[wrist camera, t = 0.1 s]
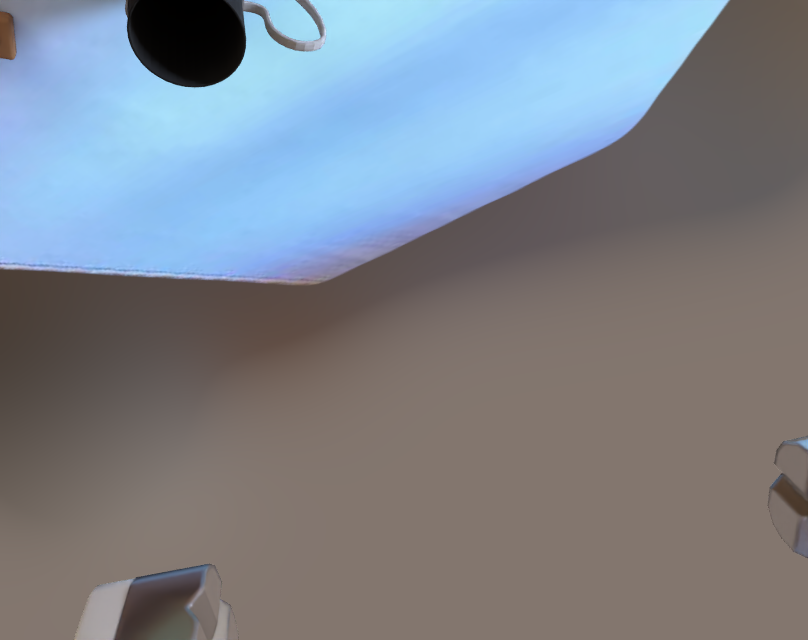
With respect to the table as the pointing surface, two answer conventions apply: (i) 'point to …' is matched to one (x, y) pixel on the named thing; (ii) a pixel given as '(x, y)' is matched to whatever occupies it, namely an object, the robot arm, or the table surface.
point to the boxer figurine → (7, 37)
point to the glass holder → (200, 37)
